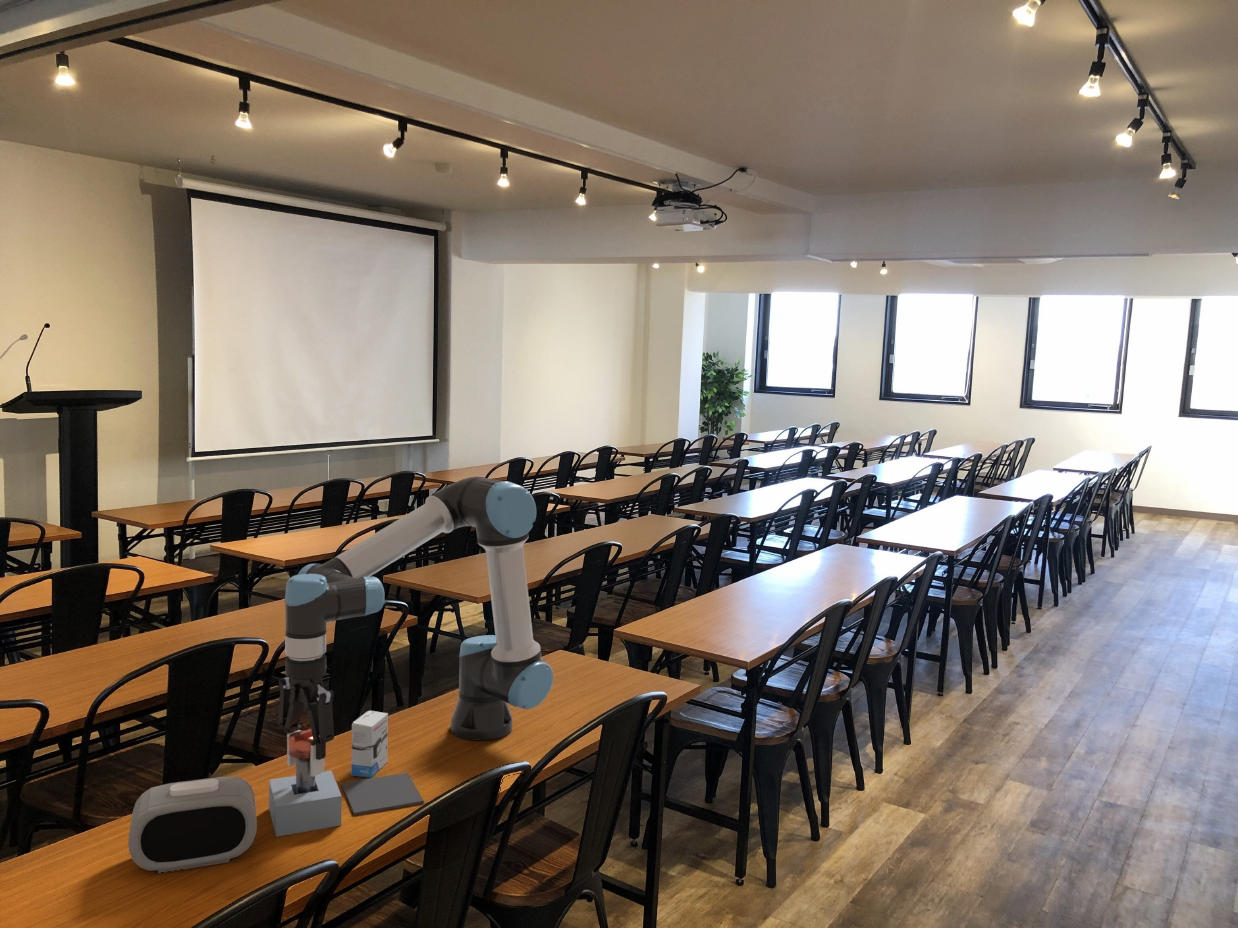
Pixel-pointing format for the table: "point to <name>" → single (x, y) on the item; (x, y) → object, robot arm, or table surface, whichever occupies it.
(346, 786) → the mat
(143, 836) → the alarm clock
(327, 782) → the eye block
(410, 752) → the table surface
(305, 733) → the red-capped vial
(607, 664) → the table surface
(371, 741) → the ink box
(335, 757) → the table surface
